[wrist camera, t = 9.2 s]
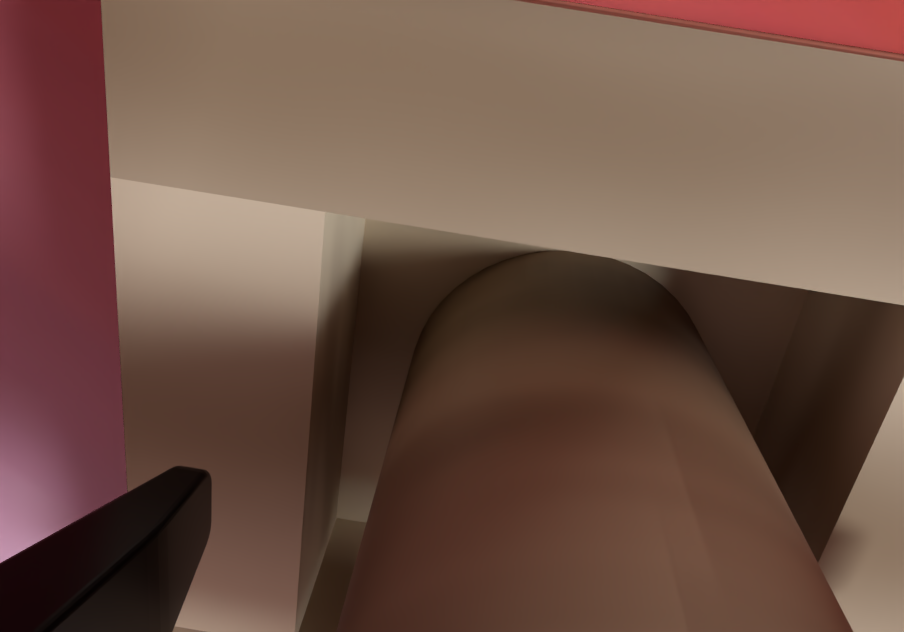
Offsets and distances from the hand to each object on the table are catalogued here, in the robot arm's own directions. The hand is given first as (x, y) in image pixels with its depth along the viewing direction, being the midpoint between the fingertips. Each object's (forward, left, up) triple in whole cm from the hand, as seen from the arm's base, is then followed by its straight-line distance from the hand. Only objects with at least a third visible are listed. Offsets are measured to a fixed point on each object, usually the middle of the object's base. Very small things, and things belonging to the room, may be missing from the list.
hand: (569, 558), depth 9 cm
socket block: (0, 0, -5) cm, 5 cm away
